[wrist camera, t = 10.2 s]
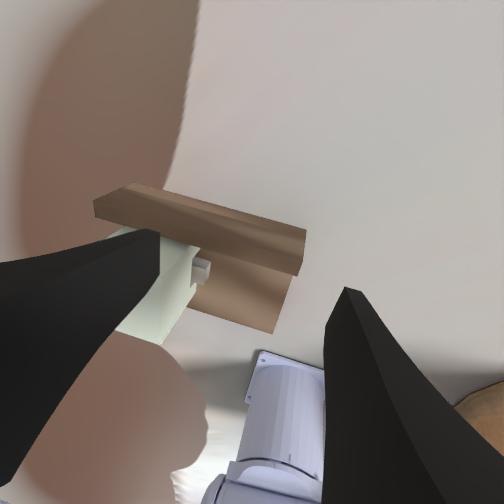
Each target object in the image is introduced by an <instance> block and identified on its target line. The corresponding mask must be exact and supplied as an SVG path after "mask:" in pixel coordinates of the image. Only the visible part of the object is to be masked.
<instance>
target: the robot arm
mask: <svg viewBox="0 0 504 504" xmlns="http://www.w3.org/2000/svg"><path fill="white" fill-rule="evenodd" d="M159 275H160V232H157V231H153V230H150V229H147V228H145V229H140V230H136V231H132V232H128V233H125V234H121V235H118V236H115V237H111V238H108V239H104V240H101V241H97V242H94V243H91V244H87V245H83V246H79V247H75V248H71V249H68V250H63V251H60V252H55V253H51V254H46V255H42V256H37V257H31V258H26V259H21V260H15V261H9V262H1V263H0V487H2V486H4V485H5V484H7V483H8V482H10V481H11V479H12V478H13V476H14V474H15V473H16V471H17V469H18V468H19V466H20V464H21V463H22V461H23V459H24V458H25V456H26V454H27V453H28V451H29V450H30V448H31V446H32V445H33V443H34V441H35V440H36V438H37V437H38V435H39V434H40V432H41V430H42V429H43V427H44V426H45V424H46V423H47V421H48V420H49V418H50V417H51V415H52V414H53V412H54V411H55V409H56V407H57V406H58V405H59V403H60V401H61V400H62V398H63V397H64V396H65V394H66V393H67V391H68V390H69V388H70V387H71V386H72V384H73V383H74V381H75V380H76V378H77V377H78V375H79V374H80V373H81V371H82V370H83V369H84V367H85V366H86V364H87V363H88V362H89V361H90V359H91V358H92V356H93V355H94V354H95V352H96V351H97V350H98V348H99V347H100V346H101V345H102V344H103V342H104V341H105V340H106V338H108V336H109V335H110V334H111V333H112V332H113V331H114V330H115V329H116V328H117V327H118V325H119V324H120V323H121V322H122V321H123V320H124V319H125V318H126V317H127V316H128V314H129V313H130V312H131V311H132V310H133V309H134V308H135V307H136V306H137V304H138V303H139V302H140V301H141V300H142V299H143V298H144V297H145V295H146V294H147V293H148V291H149V290H150V289H151V287H152V286H153V284H154V283H155V281H156V280H157V278H158V276H159ZM323 357H324V370H321V369H318V368H315V367H312V366H309V365H306V364H303V363H299V362H296V361H293V360H290V359H287V358H284V357H281V356H278V355H275V354H272V353H269V352H266V351H261V352H260V354H259V357H258V360H257V363H256V366H255V369H254V372H253V375H252V378H251V381H250V384H249V387H248V391H247V394H246V397H245V400H244V401H245V403H246V404H249V409H248V413H247V417H246V421H245V425H244V430H243V434H242V438H241V442H240V446H239V450H238V455H237V459H236V462H234V461H230V463H229V466H228V470H227V474H226V475H225V474H219V475H218V476H217V477H216V478H215V480H214V481H213V482H211V484H210V485H209V486H208V488H207V490H206V492H205V494H204V496H203V499H202V501H201V504H504V456H503V455H501V454H500V453H499V452H498V451H497V450H496V449H495V448H494V447H493V446H492V445H491V444H490V443H489V442H487V441H486V440H485V439H484V438H483V437H482V436H481V435H480V434H479V433H478V432H477V431H476V430H475V429H474V428H473V427H472V426H471V425H470V424H469V423H468V422H467V421H466V420H465V419H464V418H463V417H462V416H461V415H460V414H459V413H458V412H457V411H456V410H455V409H454V408H453V407H452V406H451V405H450V404H449V403H448V402H447V401H446V399H445V398H444V397H443V396H442V395H441V394H440V393H439V392H438V391H437V390H436V388H435V387H434V386H433V385H432V384H431V383H430V382H429V381H428V380H427V378H426V377H425V376H424V375H423V374H422V373H421V371H420V370H419V369H418V368H417V367H416V365H415V364H414V363H413V362H412V360H411V359H410V358H409V357H408V355H407V354H406V353H405V352H404V350H403V349H402V348H401V346H400V345H399V344H398V342H397V341H396V340H395V338H394V337H393V336H392V334H391V333H390V331H389V330H388V329H387V327H386V326H385V324H384V323H383V322H382V320H381V319H380V317H379V316H378V314H377V313H376V311H375V310H374V308H373V307H372V306H371V304H370V303H369V301H368V300H367V298H366V297H365V295H364V294H363V293H362V292H361V291H358V290H355V289H351V288H348V287H344V289H343V291H342V293H341V295H340V297H339V299H338V301H337V303H336V305H335V307H334V309H333V311H332V313H331V315H330V317H329V320H328V322H327V324H326V326H325V336H324V348H323ZM324 401H325V403H326V435H325V454H324V470H323V402H324ZM0 504H9V503H7V502H5V501H3V500H0Z"/></svg>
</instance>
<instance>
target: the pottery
mask: <svg viewBox="0 0 504 504" xmlns="http://www.w3.org/2000/svg"><path fill="white" fill-rule="evenodd" d="M454 409H455V410H456V411H457V412H458V413H459V414H460V415H461V416H462V417H463V418H464V419H465V420H466V421H467V422H468V423H469V424H470V425H471V426H472V427H473V428H474V429H475V430H476V431H477V432H478V433H479V434H480V435H481V436H482V437H483V438H484V439H485V440H486V441H487V442H489V443H490V444H491V445H492V446H493V447H494V448H495V449H496V450H497V451H498V452H499V453H500V454H501V455H503V456H504V381H503V382H500V383H497V384H495V385H492V386H490V387H487V388H485V389H482V390H480V391H477V392H475V393H472V394H470V395H469V396H468V397H466V398H465V399H464V400H463V401H461V402H460V403H459V404H458V405H456V406H455V407H454Z"/></svg>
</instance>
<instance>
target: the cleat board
mask: <svg viewBox="0 0 504 504" xmlns="http://www.w3.org/2000/svg"><path fill="white" fill-rule="evenodd" d="M93 203H94V211H95V217H97V218H100V219H103V220H107V221H110V222H114V223H117V224H121V225H124V226H127V227H131V228H134V229H137V230H140V229H145V228H147V229H150V230H153V231H157V232H160V236H161V237H165V238H168V239H171V240H175V241H178V242H182V243H185V244H188V245H192V246H195V247H199V248H200V250H199V251H198V252H197V254H196V255H195V256H194V257H193V258H192V269H191V280H190V282H194V283H197V285H196V292H195V294H194V295H193V297H192V298H191V300H190V301H189V303H188V304H187V306H186V307H188V308H191V309H194V310H197V311H200V312H204V313H207V314H210V315H213V316H216V317H219V318H222V319H226V320H229V321H232V322H235V323H238V324H241V325H244V326H248V327H251V328H254V329H257V330H260V331H263V332H266V333H270V334H273V332H274V329H275V326H276V323H277V320H278V317H279V314H280V311H281V308H282V306H283V303H284V300H285V297H286V294H287V291H288V288H289V285H290V282H291V279H292V277H293V275H294V276H298V273H299V270H300V267H301V265H302V262H303V255H304V247H305V239H306V231H307V230H305V229H302V228H298V227H294V226H291V225H287V224H284V223H280V222H276V221H273V220H269V219H266V218H262V217H258V216H255V215H251V214H248V213H244V212H240V211H237V210H233V209H229V208H226V207H222V206H219V205H215V204H211V203H208V202H204V201H201V200H197V199H193V198H190V197H186V196H182V195H179V194H175V193H172V192H168V191H164V190H161V189H157V188H154V187H150V186H146V185H142V184H139V183H136V182H134V183H131V184H129V185H127V186H125V187H122V188H120V189H118V190H116V191H113V192H111V193H109V194H107V195H105V196H102V197H100V198H98V199H95V200H93Z"/></svg>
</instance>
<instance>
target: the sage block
mask: <svg viewBox="0 0 504 504" xmlns="http://www.w3.org/2000/svg"><path fill="white" fill-rule="evenodd" d="M136 230H137V229H134V228H131V227H127V226H124V227H122V228H121V229H119V230H118V231H116V232H114V233H113V234H111V235H110V236H108V237H107V238H105V239H108V238H111V237H115V236H118V235H121V234H125V233H128V232H132V231H136ZM199 250H200V248H199V247H195V246H192V245H188V244H185V243H182V242H178V241H175V240H171V239H168V238H165V237H161V236H160V275H159V276H158V278H157V280H156V281H155V283H154V284H153V286H152V287H151V289H150V290H149V291H148V293H147V294H146V295H145V297H144V298H143V299H142V300H141V301H140V302H139V303H138V304H137V306H136V307H135V308H134V309H133V310H132V311H131V312H130V313H129V314H128V316H127V317H126V318H125V319H124V320H123V321H122V322H121V323H120V324H119V325H118V327H117V328H116V329H115V330H117V331H120V332H123V333H126V334H129V335H132V336H135V337H137V338H141V339H143V340H147V341H149V342H153V343H155V344H158V345H161V344H162V343H163V341H164V340H165V338H166V336H167V335H168V333H169V332H170V330H171V329H172V327H173V326H174V324H175V323H176V321H177V320H178V318H179V317H180V315H181V314H182V312H183V311H184V309H185V307H186V306H187V304H188V303H189V301H190V300H191V298H192V297H193V295H194V294H195V292H196V285H197V283H194V282H190V280H191V269H192V258H193V257H194V256H195V255H196V254H197V252H198V251H199Z"/></svg>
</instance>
